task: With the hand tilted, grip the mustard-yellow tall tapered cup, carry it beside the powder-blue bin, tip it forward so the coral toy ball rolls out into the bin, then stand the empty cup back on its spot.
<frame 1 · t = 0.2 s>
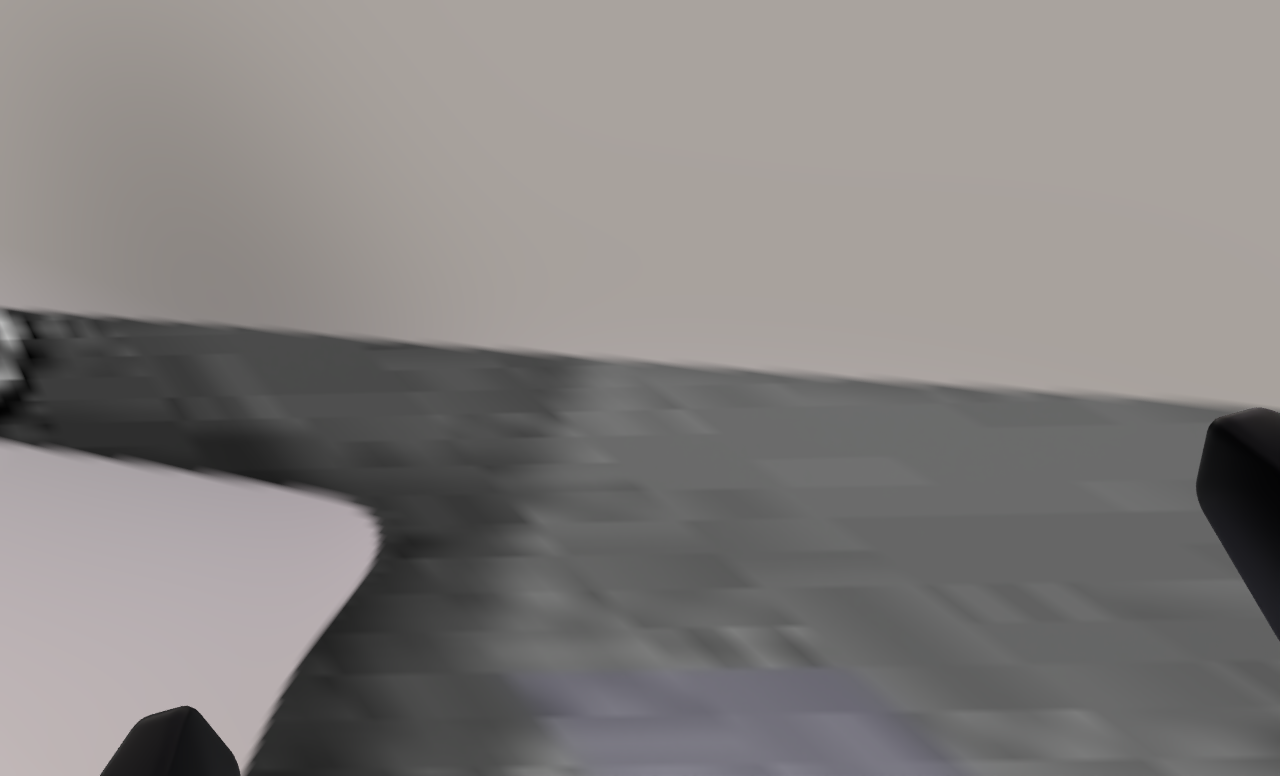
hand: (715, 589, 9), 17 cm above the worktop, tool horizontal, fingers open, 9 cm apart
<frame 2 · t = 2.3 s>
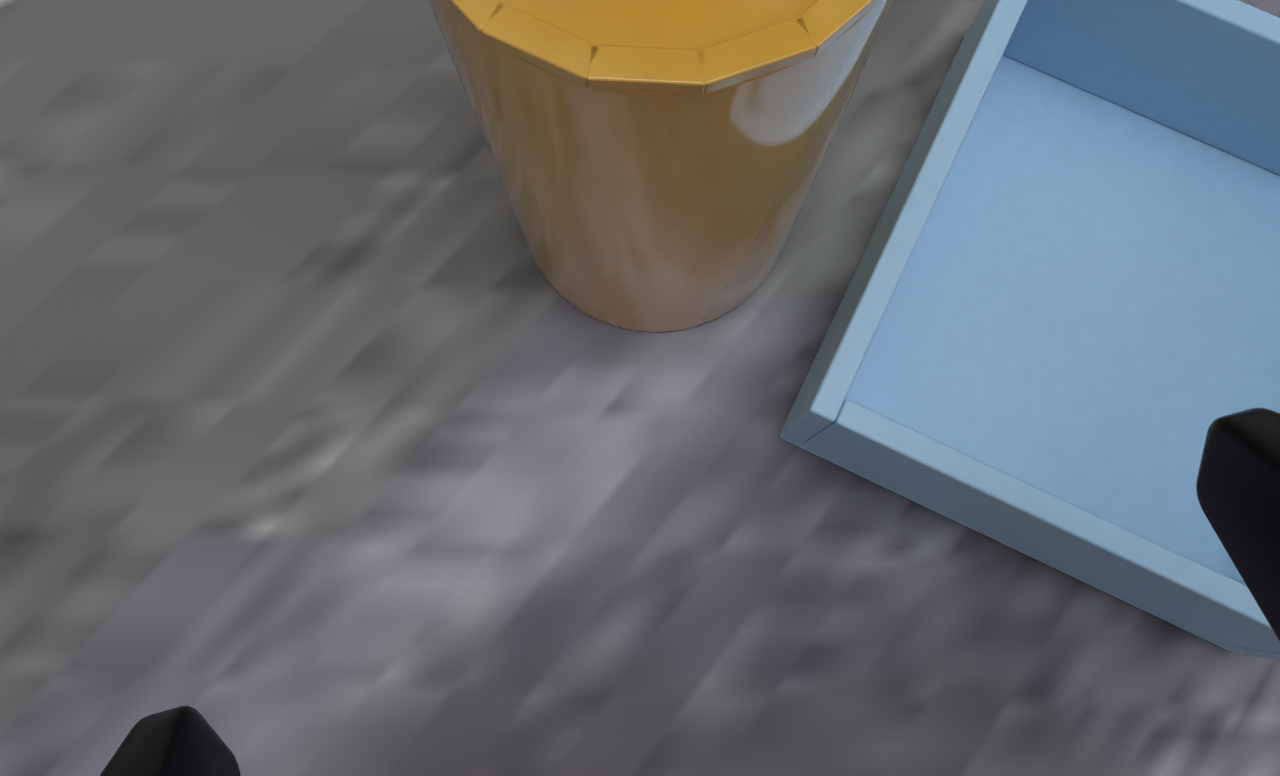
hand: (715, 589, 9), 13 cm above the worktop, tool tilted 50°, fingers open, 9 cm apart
tall tapered cup: (655, 198, 23), on the worktop, touching toy ball
bin: (1092, 327, 23), on the worktop
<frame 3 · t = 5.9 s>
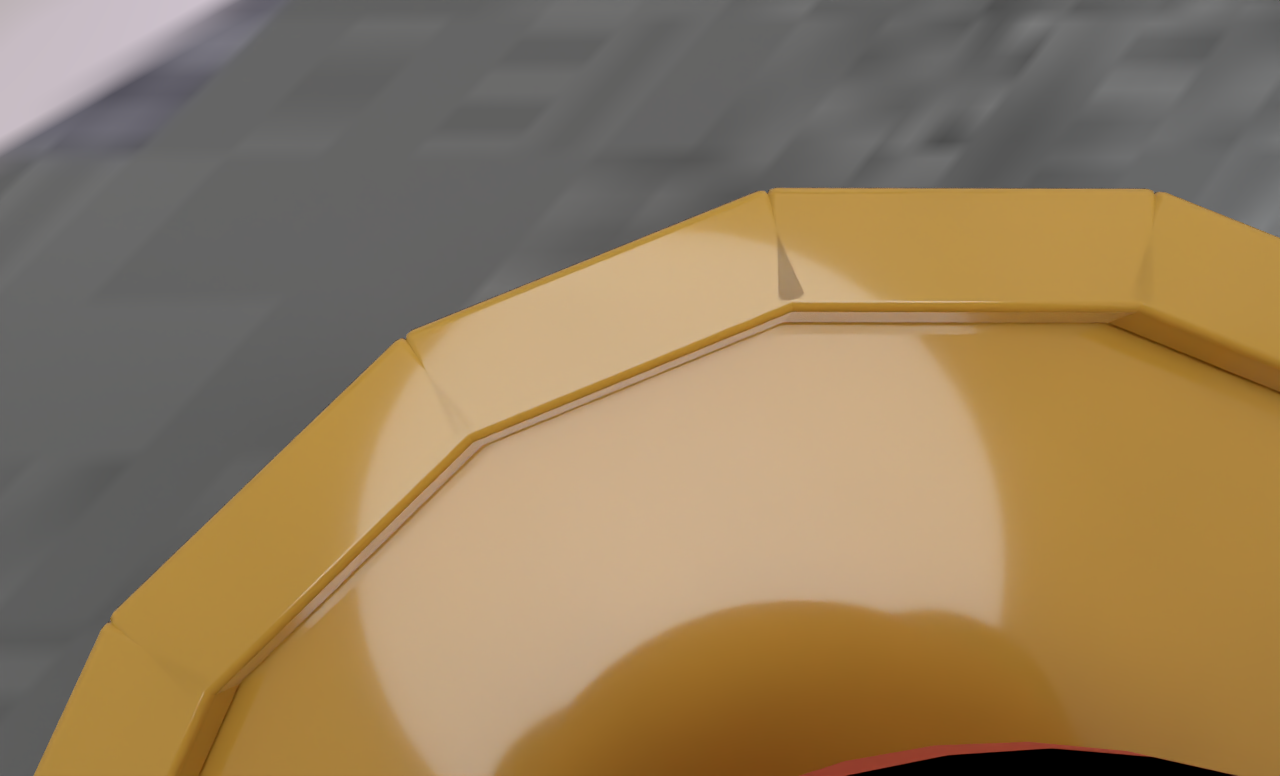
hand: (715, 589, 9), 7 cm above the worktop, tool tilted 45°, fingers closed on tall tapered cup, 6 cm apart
tall tapered cup: (705, 643, 15), on the worktop, touching gripper, toy ball
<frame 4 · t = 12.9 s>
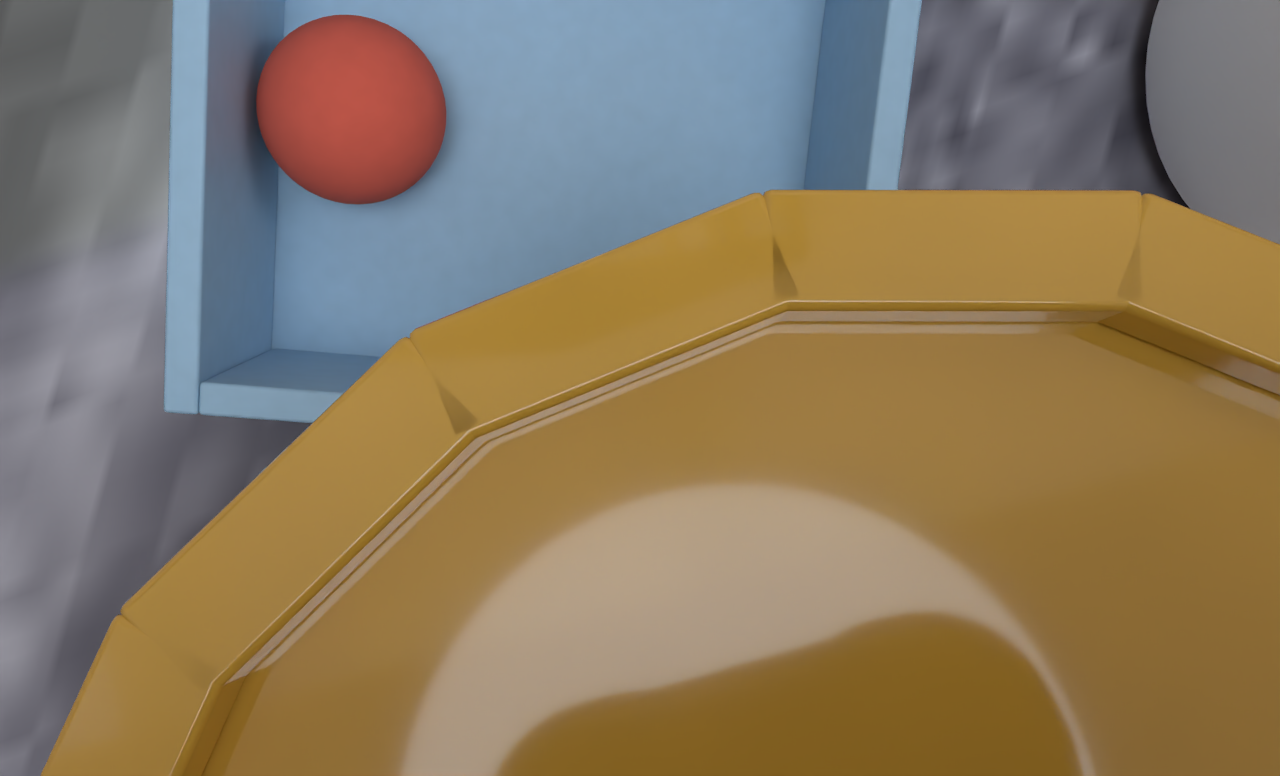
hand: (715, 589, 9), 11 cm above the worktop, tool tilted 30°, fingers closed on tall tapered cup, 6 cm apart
toy ball: (353, 111, 17), point 2 cm above the worktop, tilted 93°, touching bin
mug: (1262, 0, 20), on the worktop
tall tapered cup: (706, 643, 15), point 5 cm above the worktop, tilted 16°, touching gripper
bin: (552, 111, 19), on the worktop
when the fingers open (7 cm above the worktop, at t = 18.2 s): tall tapered cup stays where it is, on the worktop.
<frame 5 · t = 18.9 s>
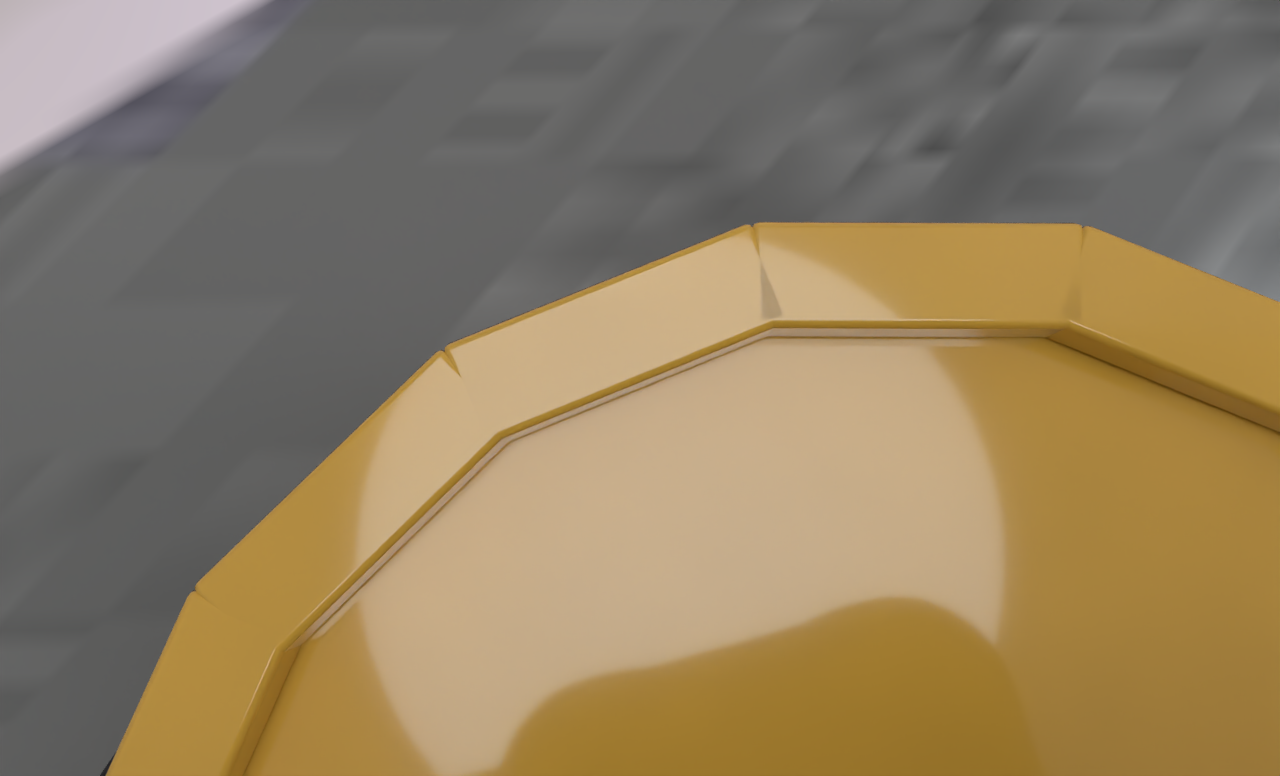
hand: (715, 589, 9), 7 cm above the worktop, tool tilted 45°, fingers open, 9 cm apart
tall tapered cup: (704, 635, 16), on the worktop
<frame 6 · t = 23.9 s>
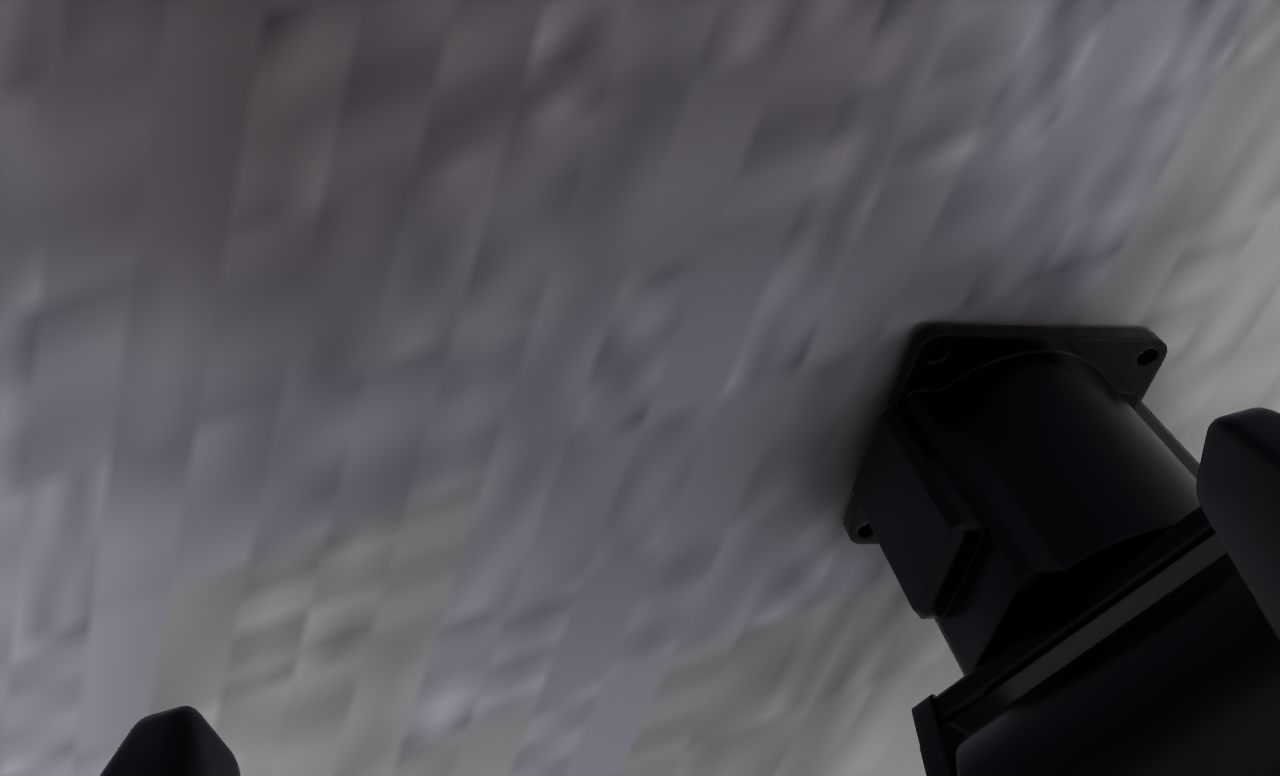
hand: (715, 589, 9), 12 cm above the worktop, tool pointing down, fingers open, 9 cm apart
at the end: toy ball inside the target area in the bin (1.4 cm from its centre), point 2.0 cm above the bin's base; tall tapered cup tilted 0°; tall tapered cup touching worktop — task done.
